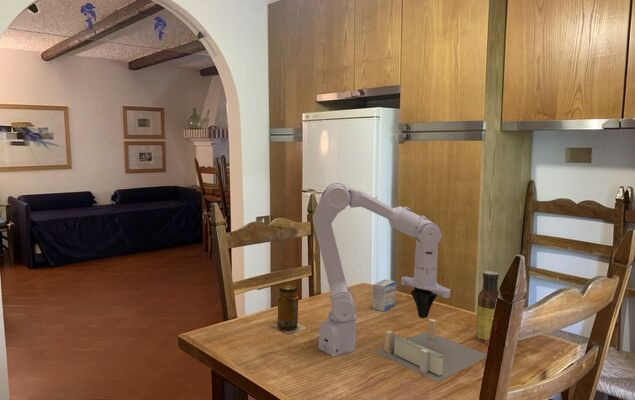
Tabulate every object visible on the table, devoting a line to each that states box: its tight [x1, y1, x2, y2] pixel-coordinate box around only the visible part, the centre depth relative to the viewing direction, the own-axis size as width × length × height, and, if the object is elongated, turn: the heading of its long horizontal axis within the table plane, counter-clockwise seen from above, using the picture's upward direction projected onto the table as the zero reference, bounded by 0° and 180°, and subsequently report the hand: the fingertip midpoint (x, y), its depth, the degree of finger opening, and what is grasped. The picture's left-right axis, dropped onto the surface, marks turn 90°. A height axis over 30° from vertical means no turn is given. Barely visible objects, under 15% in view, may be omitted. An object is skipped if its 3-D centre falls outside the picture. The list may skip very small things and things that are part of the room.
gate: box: [391, 333, 443, 375], centre depth 113 cm, size 15×1×5 cm, turn 38°
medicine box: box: [372, 279, 397, 312], centre depth 155 cm, size 8×4×9 cm, turn 143°
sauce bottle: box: [475, 270, 500, 345], centre depth 128 cm, size 6×6×20 cm
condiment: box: [271, 284, 308, 334], centre depth 136 cm, size 7×8×12 cm
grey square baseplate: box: [374, 318, 487, 383], centre depth 119 cm, size 22×20×6 cm
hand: (423, 317), depth 121 cm, fingers closed
